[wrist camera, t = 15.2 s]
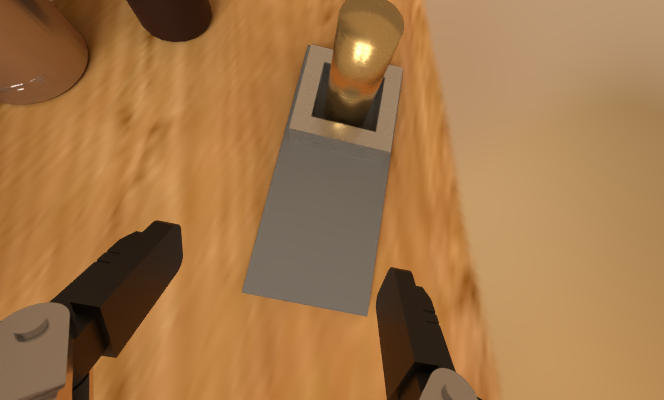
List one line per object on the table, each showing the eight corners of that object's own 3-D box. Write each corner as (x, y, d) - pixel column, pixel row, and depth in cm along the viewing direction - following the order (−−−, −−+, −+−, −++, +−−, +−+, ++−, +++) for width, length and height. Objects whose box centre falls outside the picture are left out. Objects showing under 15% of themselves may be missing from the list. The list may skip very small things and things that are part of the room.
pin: (318, 100, 26) (329, 0, 16) (356, 90, 27) (388, -11, 17) (332, 136, 25) (352, 54, 16) (371, 125, 26) (414, 41, 16)
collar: (381, 163, 25) (390, 152, 23) (289, 141, 25) (289, 127, 22) (393, 85, 27) (402, 67, 25) (309, 64, 27) (311, 44, 24)
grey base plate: (364, 314, 23) (367, 316, 22) (244, 291, 22) (241, 292, 21) (399, 76, 29) (403, 69, 28) (307, 52, 28) (307, 44, 27)
